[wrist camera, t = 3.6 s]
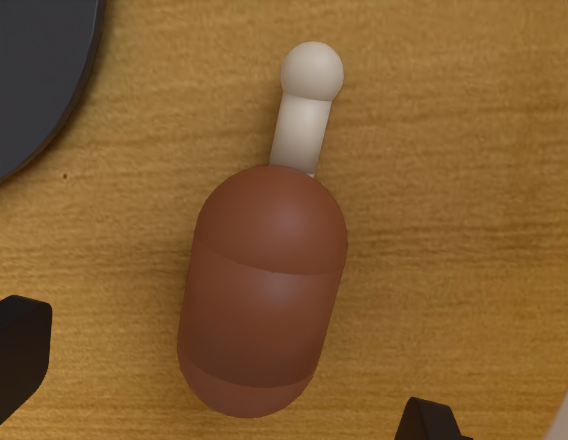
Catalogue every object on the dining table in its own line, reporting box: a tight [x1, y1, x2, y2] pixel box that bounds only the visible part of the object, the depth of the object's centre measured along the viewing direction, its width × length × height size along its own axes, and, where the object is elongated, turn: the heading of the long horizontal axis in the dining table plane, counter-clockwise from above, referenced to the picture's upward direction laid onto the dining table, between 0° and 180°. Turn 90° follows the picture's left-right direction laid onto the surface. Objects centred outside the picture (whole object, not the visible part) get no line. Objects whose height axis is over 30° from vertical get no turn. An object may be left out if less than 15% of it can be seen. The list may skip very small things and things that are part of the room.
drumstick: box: [177, 41, 348, 418], centre depth 13 cm, size 12×5×5 cm, turn 168°
